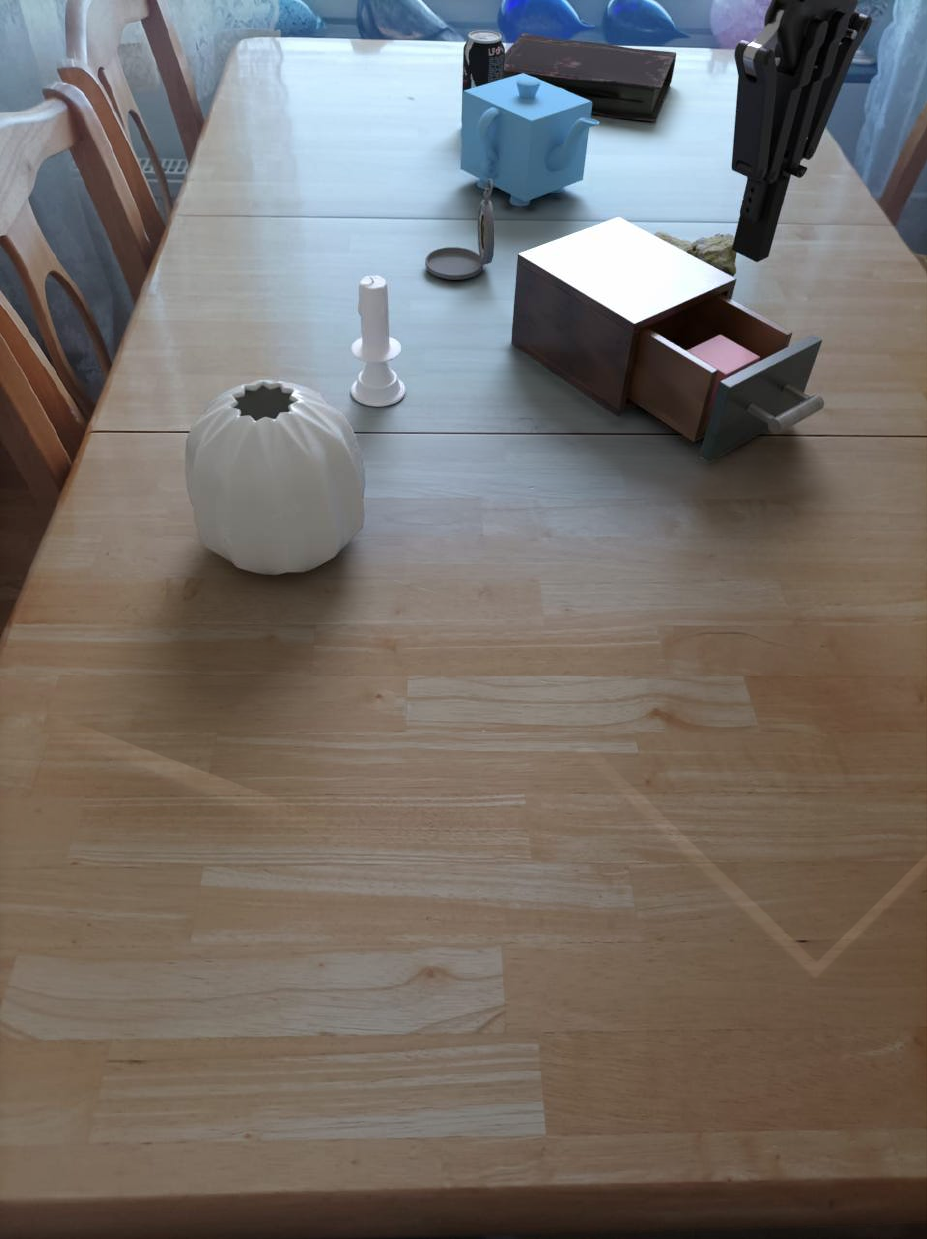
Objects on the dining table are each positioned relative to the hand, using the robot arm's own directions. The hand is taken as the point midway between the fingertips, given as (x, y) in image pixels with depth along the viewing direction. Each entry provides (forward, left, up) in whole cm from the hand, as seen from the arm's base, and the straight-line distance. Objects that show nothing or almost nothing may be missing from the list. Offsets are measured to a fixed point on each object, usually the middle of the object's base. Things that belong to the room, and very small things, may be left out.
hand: (749, 253), depth 78 cm
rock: (+4, -26, -16) cm, 31 cm away
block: (0, +1, -14) cm, 14 cm away
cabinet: (+10, -7, -16) cm, 21 cm away
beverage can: (+37, -61, -16) cm, 74 cm away
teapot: (+25, -42, -16) cm, 52 cm away
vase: (+32, +28, -16) cm, 46 cm away
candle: (+31, +6, -16) cm, 36 cm away
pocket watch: (+29, -20, -16) cm, 39 cm away
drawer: (0, +1, -15) cm, 15 cm away
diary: (+25, -80, -16) cm, 86 cm away
